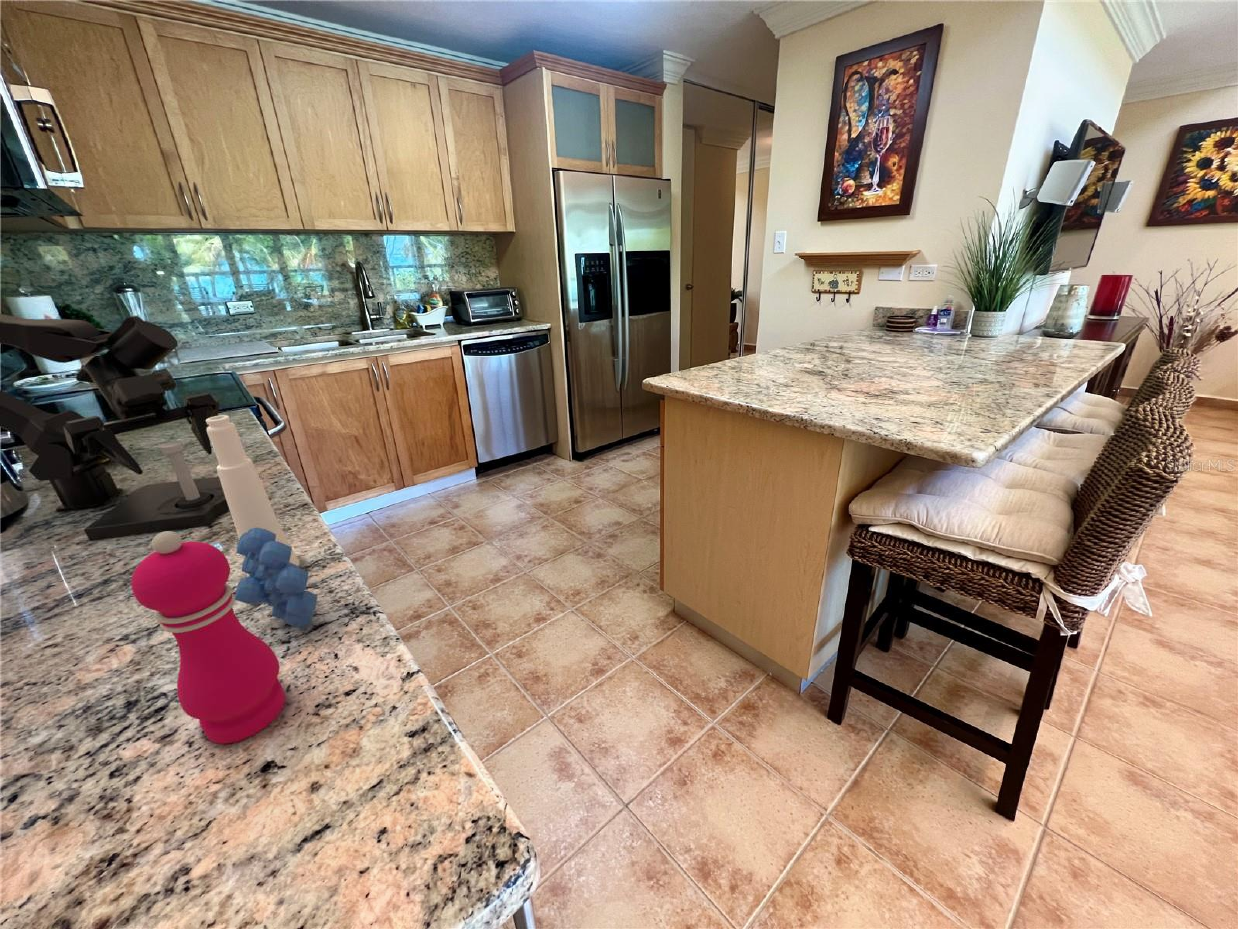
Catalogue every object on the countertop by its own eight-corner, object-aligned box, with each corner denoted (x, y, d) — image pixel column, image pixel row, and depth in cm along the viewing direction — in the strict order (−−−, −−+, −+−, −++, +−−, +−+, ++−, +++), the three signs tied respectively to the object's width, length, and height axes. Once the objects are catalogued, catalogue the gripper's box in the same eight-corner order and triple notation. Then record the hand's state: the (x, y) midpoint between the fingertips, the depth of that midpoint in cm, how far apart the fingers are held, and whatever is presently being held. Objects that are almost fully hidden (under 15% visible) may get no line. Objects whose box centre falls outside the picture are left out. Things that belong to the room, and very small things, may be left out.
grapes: (228, 623, 58) (189, 536, 53) (288, 591, 63) (258, 509, 58) (278, 662, 52) (240, 568, 47) (340, 623, 58) (311, 535, 53)
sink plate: (89, 540, 76) (83, 529, 75) (151, 494, 90) (146, 484, 89) (215, 524, 79) (211, 513, 79) (255, 482, 94) (252, 472, 93)
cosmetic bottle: (236, 579, 66) (172, 423, 57) (279, 554, 71) (225, 408, 62) (269, 588, 64) (207, 428, 55) (310, 562, 69) (259, 412, 60)
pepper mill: (231, 686, 50) (149, 512, 41) (306, 680, 50) (239, 507, 42) (179, 753, 43) (69, 563, 35) (265, 746, 43) (177, 556, 35)
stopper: (176, 519, 81) (145, 450, 76) (190, 506, 85) (162, 440, 80) (207, 515, 82) (179, 447, 77) (219, 503, 86) (193, 437, 81)
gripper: (33, 368, 68) (94, 456, 68) (194, 345, 83) (246, 418, 82) (46, 413, 76) (101, 494, 75) (192, 385, 90) (240, 453, 89)
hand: (177, 462), depth 80 cm, fingers open, 9 cm apart
